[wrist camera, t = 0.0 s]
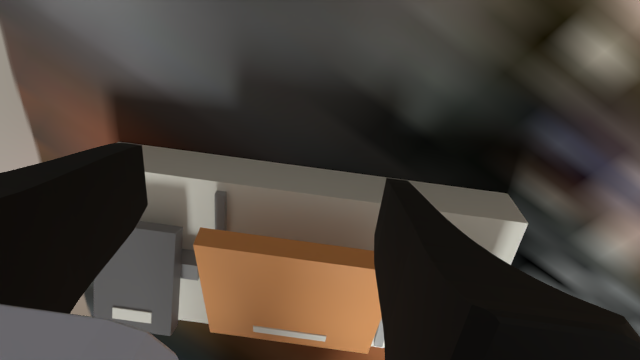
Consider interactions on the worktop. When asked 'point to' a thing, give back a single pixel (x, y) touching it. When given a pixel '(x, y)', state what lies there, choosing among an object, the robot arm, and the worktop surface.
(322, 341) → the orange slotted panel
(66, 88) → the worktop surface
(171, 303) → the charcoal rocker off
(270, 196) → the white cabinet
